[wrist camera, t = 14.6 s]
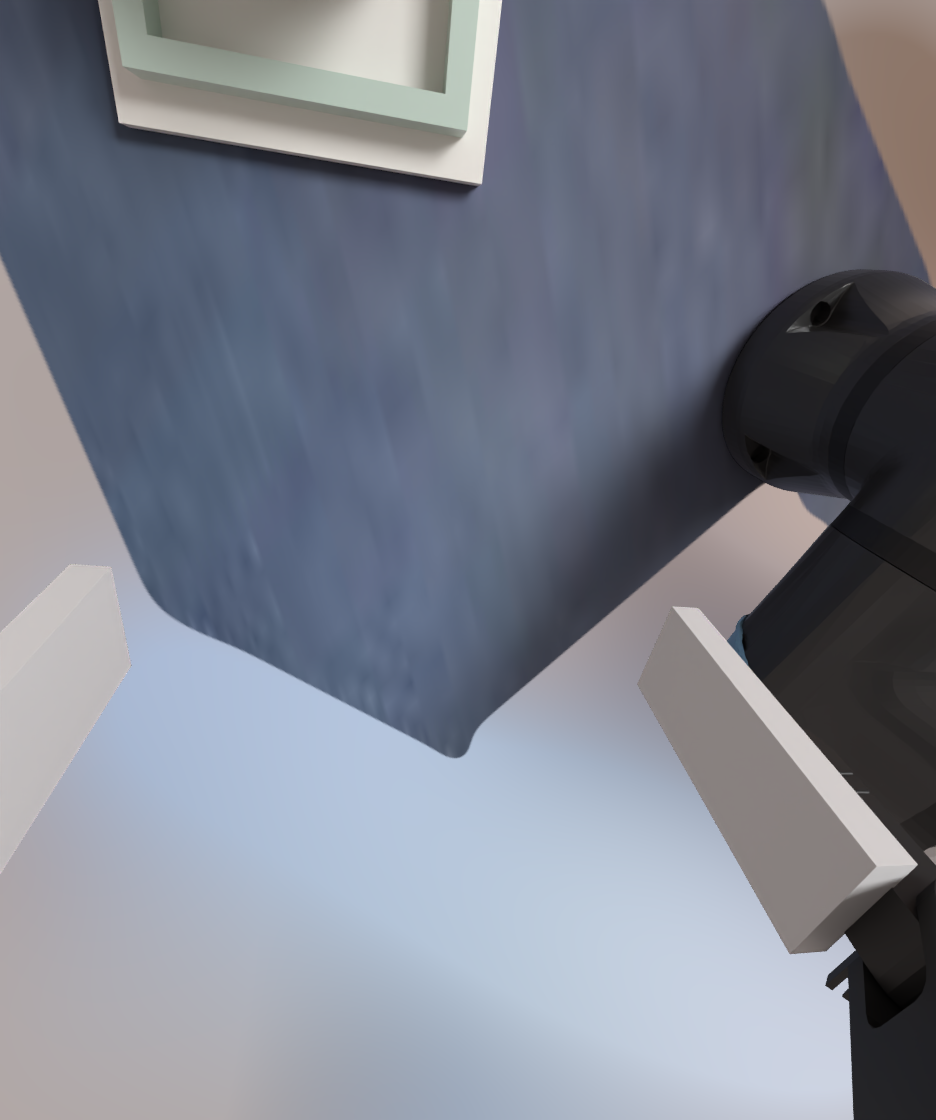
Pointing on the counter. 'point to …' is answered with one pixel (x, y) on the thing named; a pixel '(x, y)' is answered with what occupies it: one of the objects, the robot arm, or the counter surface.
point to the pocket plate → (313, 77)
